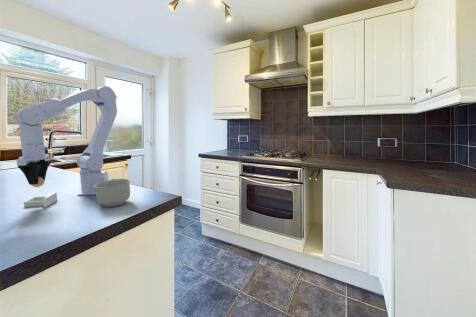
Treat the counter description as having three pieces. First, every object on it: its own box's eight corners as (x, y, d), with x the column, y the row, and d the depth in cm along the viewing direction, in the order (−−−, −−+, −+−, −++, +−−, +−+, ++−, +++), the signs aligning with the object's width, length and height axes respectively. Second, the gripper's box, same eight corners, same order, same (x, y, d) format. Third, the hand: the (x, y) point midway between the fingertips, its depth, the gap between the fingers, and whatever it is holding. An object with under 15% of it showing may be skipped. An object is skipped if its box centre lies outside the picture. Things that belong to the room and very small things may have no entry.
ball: (46, 185, 78) (46, 175, 78) (40, 187, 75) (39, 177, 74) (34, 186, 77) (34, 176, 77) (28, 188, 74) (27, 178, 73)
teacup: (127, 207, 74) (126, 184, 72) (90, 210, 70) (88, 186, 69) (134, 195, 87) (133, 176, 86) (103, 197, 84) (102, 177, 83)
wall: (57, 200, 80) (56, 192, 80) (46, 206, 74) (45, 198, 73) (54, 200, 80) (53, 192, 80) (43, 206, 73) (42, 198, 73)
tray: (53, 200, 80) (53, 195, 80) (45, 205, 75) (44, 200, 75) (34, 201, 79) (34, 197, 78) (24, 207, 73) (23, 202, 73)
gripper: (31, 142, 80) (35, 178, 82) (2, 145, 66) (7, 189, 68) (54, 142, 82) (58, 177, 84) (30, 145, 68) (35, 187, 70)
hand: (37, 182), depth 76 cm, fingers closed on ball, 4 cm apart
